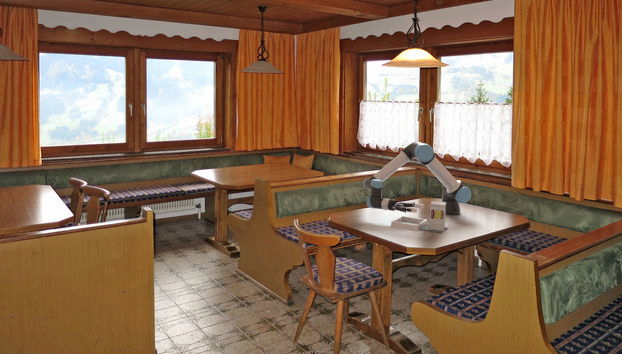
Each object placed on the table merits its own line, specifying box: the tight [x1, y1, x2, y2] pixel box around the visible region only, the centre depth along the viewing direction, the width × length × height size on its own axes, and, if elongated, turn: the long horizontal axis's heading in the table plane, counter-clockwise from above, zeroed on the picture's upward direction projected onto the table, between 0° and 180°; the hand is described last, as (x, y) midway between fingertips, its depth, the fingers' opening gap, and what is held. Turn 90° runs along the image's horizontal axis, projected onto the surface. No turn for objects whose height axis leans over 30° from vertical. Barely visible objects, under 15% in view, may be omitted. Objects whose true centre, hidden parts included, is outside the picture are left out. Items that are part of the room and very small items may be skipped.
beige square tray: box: [390, 215, 428, 231], centre depth 349 cm, size 19×18×3 cm
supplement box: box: [428, 200, 446, 232], centre depth 337 cm, size 10×9×17 cm
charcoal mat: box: [419, 223, 449, 234], centre depth 339 cm, size 14×14×1 cm
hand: (420, 208), depth 342 cm, fingers open, 13 cm apart
